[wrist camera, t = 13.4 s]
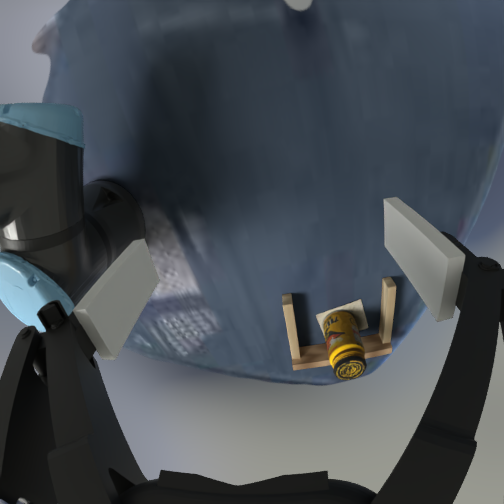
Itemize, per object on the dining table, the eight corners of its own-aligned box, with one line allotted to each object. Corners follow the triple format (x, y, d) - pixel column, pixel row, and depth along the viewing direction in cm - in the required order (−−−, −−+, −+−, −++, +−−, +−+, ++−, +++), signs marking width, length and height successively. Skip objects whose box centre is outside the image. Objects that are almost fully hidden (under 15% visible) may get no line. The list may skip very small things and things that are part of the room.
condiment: (315, 314, 50) (324, 365, 40) (360, 298, 48) (379, 345, 38) (326, 341, 53) (335, 390, 42) (368, 326, 51) (384, 373, 40)
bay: (292, 353, 55) (293, 370, 51) (282, 294, 49) (283, 311, 45) (385, 337, 52) (391, 352, 48) (390, 276, 46) (399, 291, 42)
